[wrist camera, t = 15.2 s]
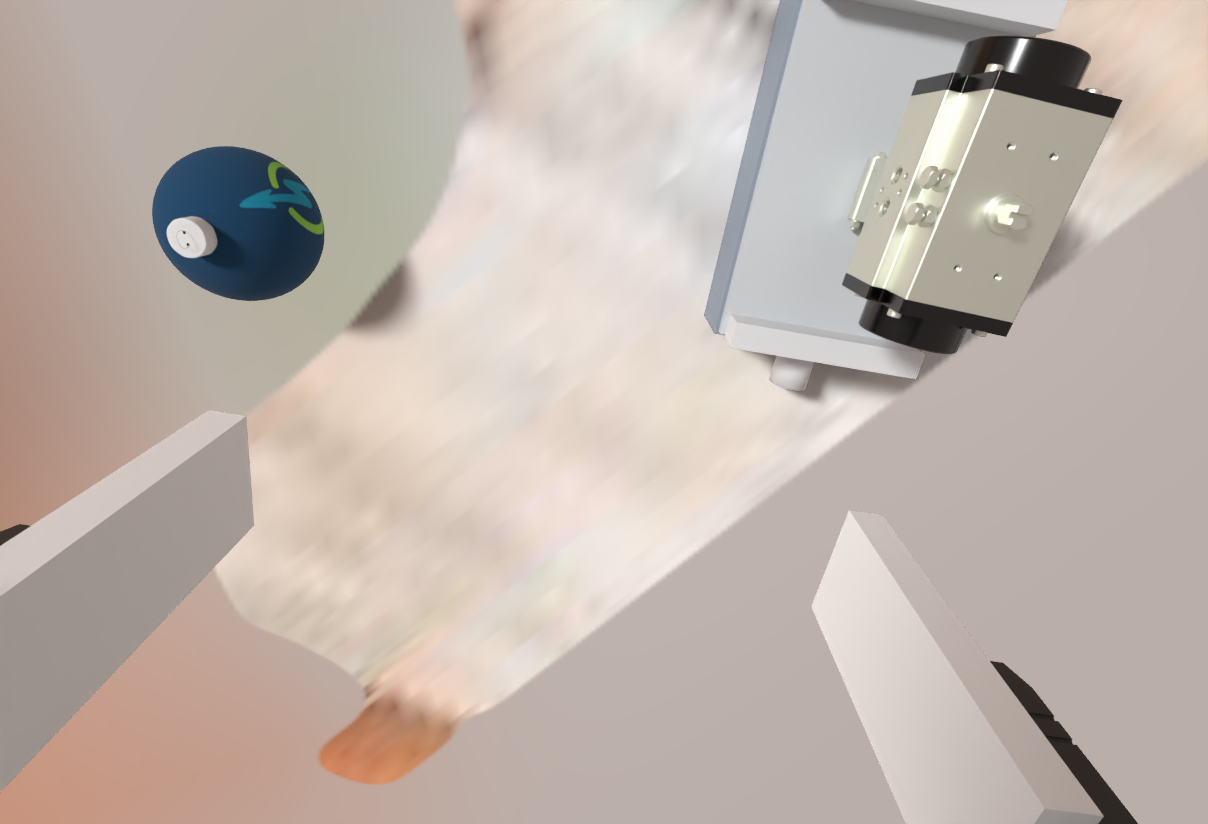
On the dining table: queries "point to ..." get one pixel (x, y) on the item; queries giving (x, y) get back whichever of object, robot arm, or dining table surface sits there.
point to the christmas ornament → (238, 223)
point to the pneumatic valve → (973, 191)
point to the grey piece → (832, 169)
